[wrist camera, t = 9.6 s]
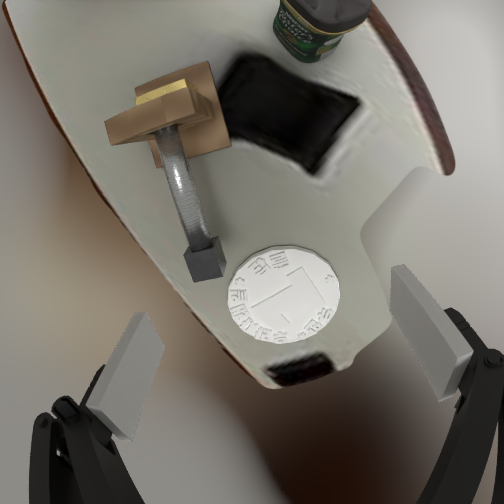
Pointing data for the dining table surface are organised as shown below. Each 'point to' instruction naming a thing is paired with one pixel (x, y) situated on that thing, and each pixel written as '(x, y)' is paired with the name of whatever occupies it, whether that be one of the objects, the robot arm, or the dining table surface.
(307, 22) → the coffee jar
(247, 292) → the giant coin
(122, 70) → the dining table surface
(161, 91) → the spacer
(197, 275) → the shaft
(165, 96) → the bracket
